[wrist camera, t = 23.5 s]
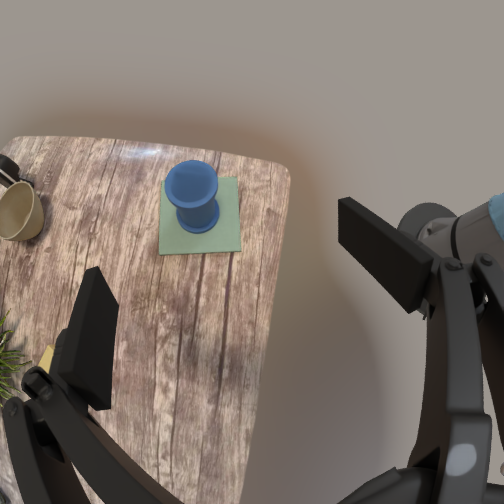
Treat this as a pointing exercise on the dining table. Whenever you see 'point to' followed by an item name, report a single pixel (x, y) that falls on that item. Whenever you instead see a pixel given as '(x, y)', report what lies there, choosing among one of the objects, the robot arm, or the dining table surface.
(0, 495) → the bowl
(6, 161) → the battery charger
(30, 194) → the beige round container
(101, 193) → the dining table surface
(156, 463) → the dining table surface
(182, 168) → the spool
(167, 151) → the dining table surface
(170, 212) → the mat
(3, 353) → the potted plant
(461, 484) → the robot arm
